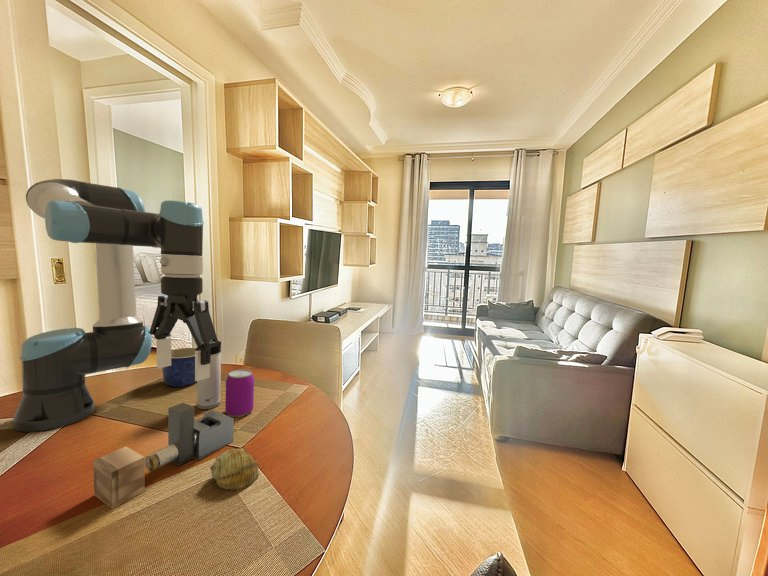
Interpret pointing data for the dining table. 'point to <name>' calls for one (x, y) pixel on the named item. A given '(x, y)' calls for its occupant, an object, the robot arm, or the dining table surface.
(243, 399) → the beverage can
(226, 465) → the seashell
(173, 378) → the planter
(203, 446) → the sleeve
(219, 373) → the travel mug
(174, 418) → the sliding bolt
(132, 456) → the socket
